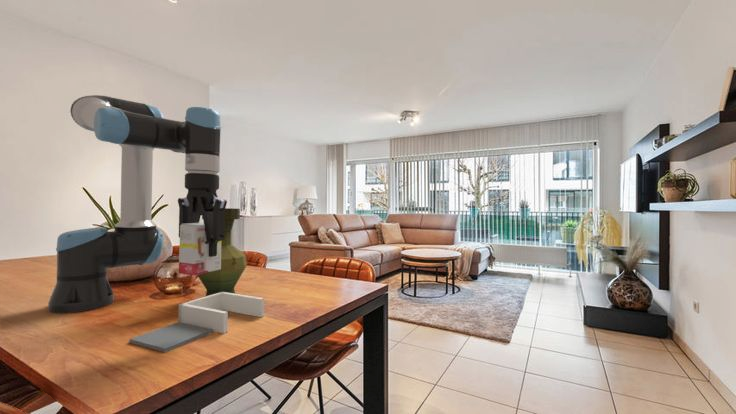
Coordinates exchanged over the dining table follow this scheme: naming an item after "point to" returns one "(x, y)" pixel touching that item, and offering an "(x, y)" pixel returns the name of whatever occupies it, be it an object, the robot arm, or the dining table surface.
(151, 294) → the dining table surface
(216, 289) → the vase
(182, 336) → the stand pad
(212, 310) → the frame
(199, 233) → the ink box
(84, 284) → the robot arm
